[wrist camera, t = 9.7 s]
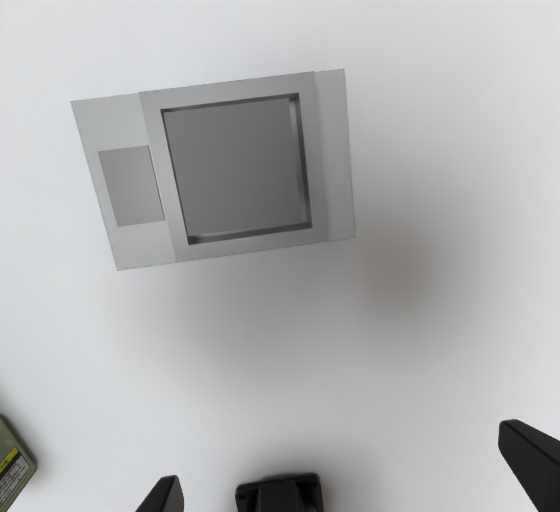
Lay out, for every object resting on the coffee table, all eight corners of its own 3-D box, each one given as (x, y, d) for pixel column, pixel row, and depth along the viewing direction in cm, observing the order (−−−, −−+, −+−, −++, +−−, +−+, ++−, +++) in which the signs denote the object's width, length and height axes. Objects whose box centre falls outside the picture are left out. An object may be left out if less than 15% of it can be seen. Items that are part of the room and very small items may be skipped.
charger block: (288, 207, 18) (301, 221, 12) (209, 217, 17) (188, 236, 12) (278, 121, 16) (288, 95, 11) (193, 131, 16) (163, 110, 11)
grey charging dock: (350, 234, 19) (365, 244, 17) (124, 266, 19) (102, 281, 16) (339, 74, 17) (354, 55, 14) (81, 105, 16) (46, 91, 14)
